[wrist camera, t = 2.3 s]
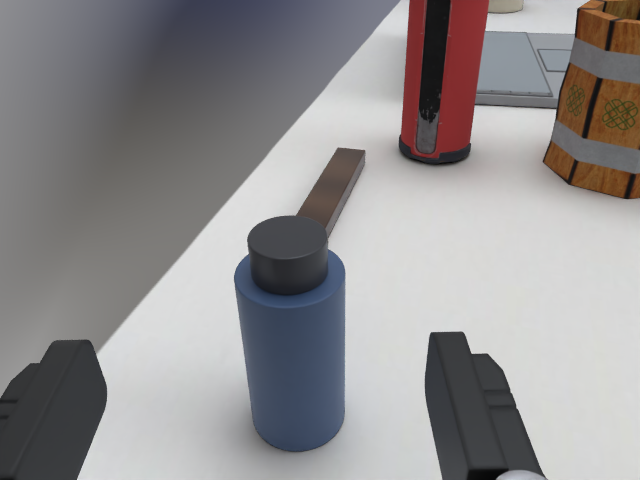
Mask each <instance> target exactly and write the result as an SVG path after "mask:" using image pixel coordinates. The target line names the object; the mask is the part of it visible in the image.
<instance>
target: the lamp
mask: <svg viewBox="0 0 640 480" xmlns="http://www.w3.org/2000/svg"><path fill="white" fill-rule="evenodd" d="M523 3H524V0H489V7H488V12H492V13H508V12H516V11H519V10H521V9H522V8H523Z"/></svg>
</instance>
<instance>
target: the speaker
mask: <svg viewBox="0 0 640 480" xmlns="http://www.w3.org/2000/svg"><path fill="white" fill-rule="evenodd" d="M488 7H489V0H410V3H409V19H408V35H407V50H406V66H405V82H404V97H403V113H402V128H401V135H400V136H399V148H400V150H401V151H402V152H403V153H404V154H405V155H406V156H407V157H409V158H411V159H413V158H414V159H417V160H421V161H423V162H424V163H429V164H439V163H440V162H456V161H458V160H460V159H462V158H463V157H465V156H466V155H468V154H469V152H470V149H471V143H470V136H471V129H472V122H473V115H474V114H473V113H474V106H475V99H476V92H477V84H478V77H479V70H480V63H481V56H482V48H483V41H484V34H485V28H486V21H487V14H488Z"/></svg>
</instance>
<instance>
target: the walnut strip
mask: <svg viewBox="0 0 640 480" xmlns="http://www.w3.org/2000/svg"><path fill="white" fill-rule="evenodd" d="M364 164H365V150H358V149H347V148H337V150H336V152H335V153H334V155H333V156H332V158H331V160H330V161H329V163H328V165H327V166H326V168H325V169H324V171H323V173H322V174H321V176H320V177H319V179H318V181H317V182H316V184H315V186H314V187H313V189H312V190H311V192H310V194H309V195H308V197H307V198H306V200H305V202H304V203H303V205H302V206H301V208H300V210H299V211H298V213H297V215H296V216H301V217H306V218H310V219H313V220H315V221H317V222H318V223H320V224H321V225H322V226H323V227H324V228H325V230H326V231H327V235H328V237H329V235H330V233H331V231H332V229H333V227H334V225H335V223H336V221H337V218H338V216H339V214H340V212H341V210H342V208H343V206H344V204H345V202H346V200H347V198H348V196H349V194H350V192H351V190H352V188H353V186H354V184H355V182H356V180H357V178H358V176H359V174H360V172H361V170H362V168H363V166H364Z"/></svg>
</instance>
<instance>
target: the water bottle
mask: <svg viewBox="0 0 640 480" xmlns="http://www.w3.org/2000/svg"><path fill="white" fill-rule="evenodd" d="M247 242H248V251H249V254H248V255H247V256H246V257H245V258H244V259H242V261H241V262H240V263H239V265H238V266H237V268H236V271H235V275H234V283H235V290H236V297H237V305H238V312H239V319H240V327H241V334H242V342H243V349H244V356H245V364H246V371H247V379H248V386H249V393H250V401H251V408H252V415H253V422H254V426H255V428H256V430H257V432H258V433H259V435H260V436H261V437H262V438H263V439H264V440H265V441H266V442H268V443H269V444H271V445H272V446H274V447H277V448H279V449H282V450H287V451H306V450H311V449H314V448H317V447H319V446H321V445H323V444H325V443H326V442H328V441H329V440H330V439H332V438H333V437H334V436H335V434H336V433H337V432H338V431H339V429H340V427H341V425H342V423H343V419H344V412H345V268H344V265H343V263H342V261H341V259H340V258H339V257H338V256H337V255H336V254H335V253H333V252H332V251H330V250H329V249H328V235H327V231H326V230H325V228H324V227H323V226H322V225H321V224H320V223H318V222H317V221H315V220H313V219H310V218H306V217H301V216H280V217H274V218H271V219H268V220H265V221H263V222H261V223H259V224H258V225H256V226H255V227H254V228H253V229H252V230H251V231H250V233H249V235H248V239H247Z"/></svg>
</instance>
